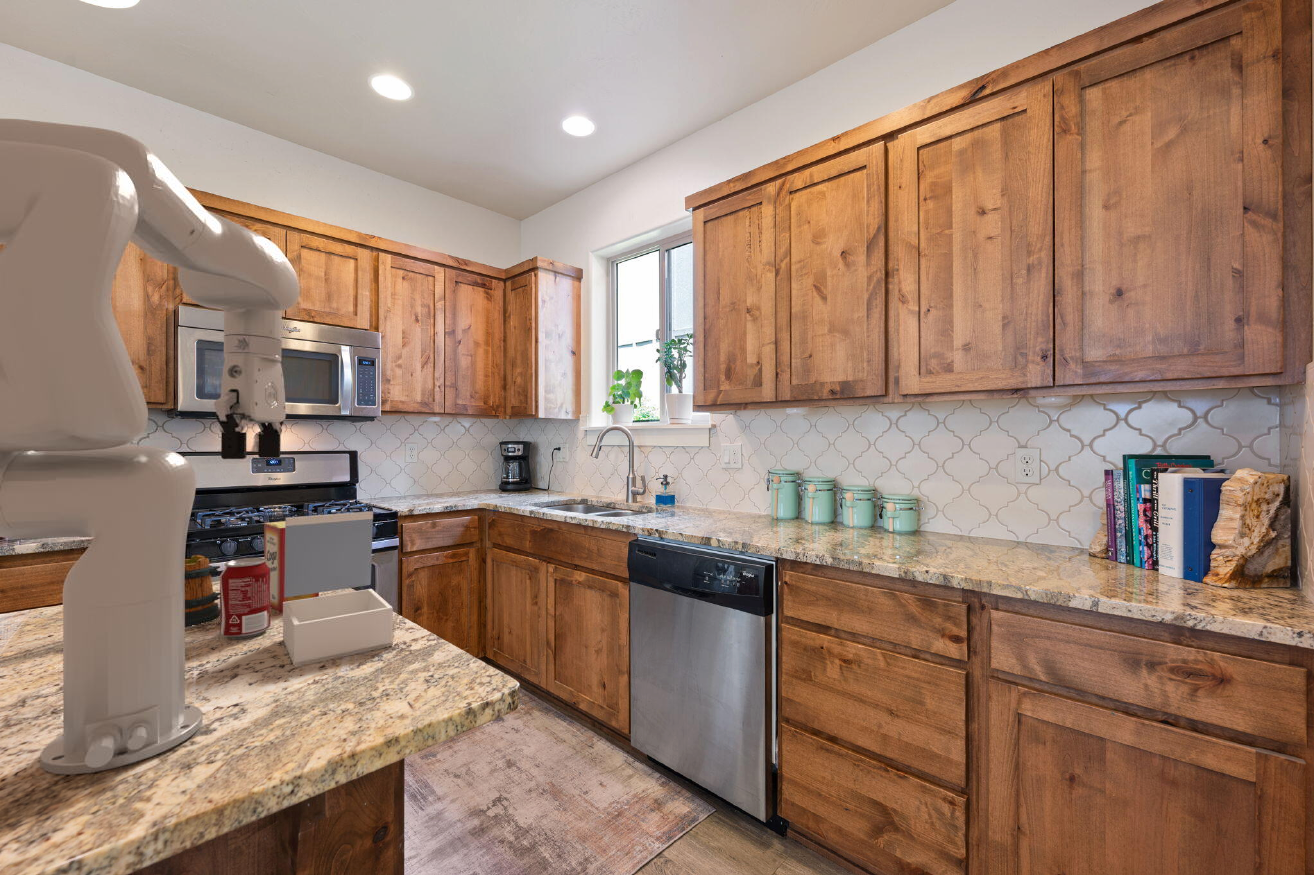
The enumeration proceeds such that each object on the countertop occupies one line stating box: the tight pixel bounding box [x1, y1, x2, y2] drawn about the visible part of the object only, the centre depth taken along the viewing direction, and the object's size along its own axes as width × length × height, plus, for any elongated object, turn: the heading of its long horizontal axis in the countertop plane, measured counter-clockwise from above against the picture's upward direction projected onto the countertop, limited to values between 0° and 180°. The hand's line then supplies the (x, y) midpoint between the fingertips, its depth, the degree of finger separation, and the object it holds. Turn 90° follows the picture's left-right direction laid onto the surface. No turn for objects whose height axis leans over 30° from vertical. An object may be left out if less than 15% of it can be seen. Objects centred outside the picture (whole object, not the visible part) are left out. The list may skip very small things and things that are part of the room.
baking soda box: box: [263, 520, 320, 614], centre depth 111 cm, size 10×6×16 cm
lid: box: [284, 511, 374, 597], centre depth 95 cm, size 13×13×1 cm
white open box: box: [282, 588, 394, 668], centre depth 90 cm, size 14×13×6 cm
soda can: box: [219, 557, 271, 640], centre depth 94 cm, size 7×7×12 cm
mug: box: [185, 554, 221, 628], centre depth 100 cm, size 13×10×12 cm
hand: (252, 458), depth 91 cm, fingers open, 9 cm apart
